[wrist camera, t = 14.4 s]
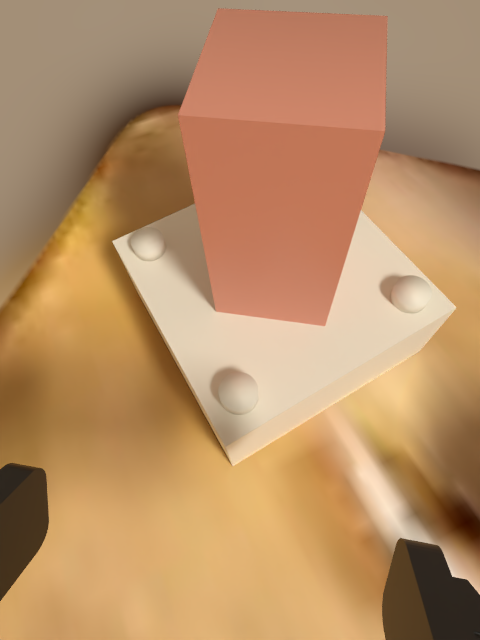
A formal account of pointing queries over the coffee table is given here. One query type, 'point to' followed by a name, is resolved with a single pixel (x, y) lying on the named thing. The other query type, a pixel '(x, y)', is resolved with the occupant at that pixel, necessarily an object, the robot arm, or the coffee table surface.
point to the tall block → (283, 153)
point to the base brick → (279, 331)
